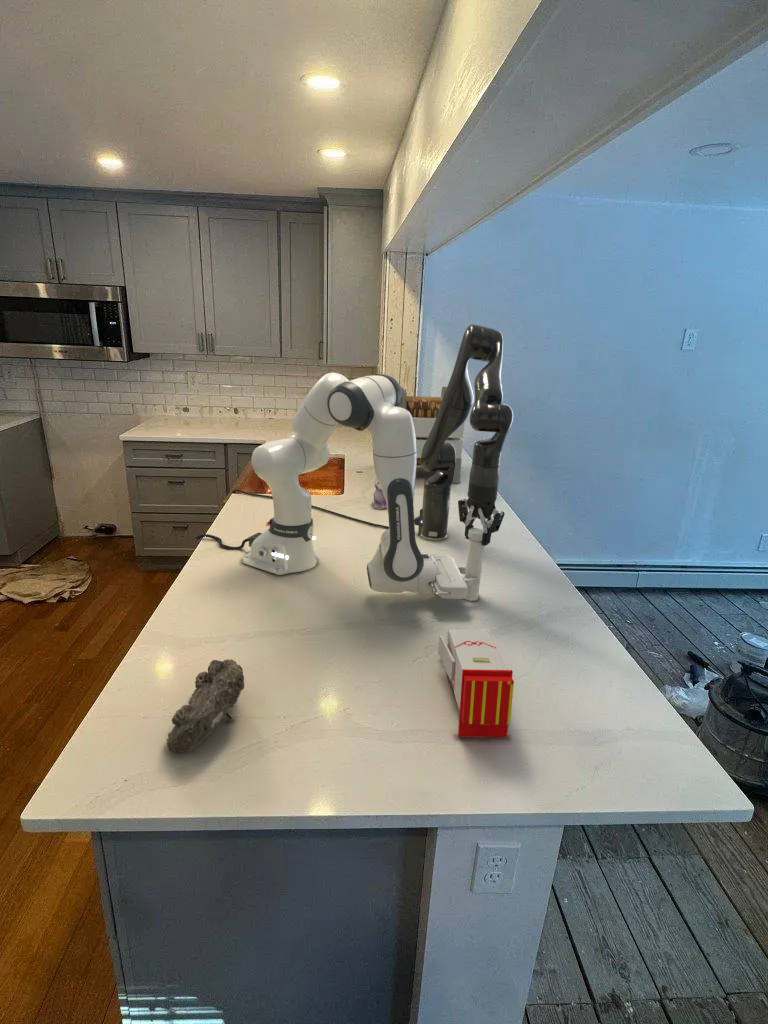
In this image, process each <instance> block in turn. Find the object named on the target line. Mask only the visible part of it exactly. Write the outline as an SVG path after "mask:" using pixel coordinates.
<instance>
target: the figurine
mask: <svg viewBox="0 0 768 1024" xmlns="http://www.w3.org/2000/svg"><path fill="white" fill-rule="evenodd" d="M373 484H374V488H375V490H374V492H373V502H372V506H373V508H374V509H378V510H384V509H387V504H386V501H385V498H384V495H383V492H382V490H381V487H380V485H379V482H378V479H377V478H376V479H375V481H374V483H373Z"/></svg>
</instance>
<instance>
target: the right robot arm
mask: <svg viewBox="0 0 768 1024" xmlns="http://www.w3.org/2000/svg"><path fill="white" fill-rule="evenodd" d="M503 353H504V337H503V334H502V332H501V331H500V330H499V329H495V328H492V327H487V326H483V325H479V324H472V323H471V324H469V325H468V326H467V327H466V329H465V331H464V333H463V335H462V338H461V342H460V344H459V348H458V352H457V355H456V359H455V362H454V366H453V369H452V373H451V375H450V378H449V380H448V384H447V386H446V387H447V389H446V391H445V394H444V396H443V399H442V402H441V405H440V408H439V411H438V414H437V417H436V420H435V422H434V425H433V427H432V430H431V432H430V434H429V436H428V438H427V440H426V442H425V444H424V446H423V449H422V452H421V465H422V466H421V467H422V469H423V470H424V471H426V472H434V474H433V475H431V476H429V477H428V478H427V479H425V480H424V482H423V493H422V496H423V497H422V506H421V508H420V509H419V516H416V517H414V526H418V530H417V535H418V536H420V538H421V539H424V540H426V541H432V542H440V541H444V540H446V539H447V538H448V525H449V517H450V516H449V514H450V504H451V494H452V493H451V491H452V486H453V484H454V483H453V479H454V472H455V465H456V451H455V448H454V446H453V445H452V444H451V443H444V442H445V441H446V439H447V438H448V437H449V436H450V435H451V434H452V433H453V432H454V431H456V430H457V429H458V428H459V427H460V426H461V425H462V424H463V423H464V424H465V422H466V421H467V419H468V417H469V425H470V427H471V428H472V429H473V430H474V431H477V432H483V433H484V432H485V433H494V434H493V436H492V437H490V438H486V439H480V440H477V441H476V442H475V443H474V445H473V451H472V460H471V467H470V471H469V478H468V488H467V497H468V498H463V499H460V500H459V499H458V500H457V507H458V517H459V518H458V519H459V522H460V523H462V524H464V526H465V527H464V537H465V539H466V540H467V541H469V537H468V531H469V529H470V528H475V527H474V525H473V524H474V523H475V521H476V519H479V520H480V524H481V525H482V529H483V530H484V532H483V537H482V545H483V546H484V547H486V546H488V545H490V543H491V538H492V534H494V533H496V532H499V530H500V528H501V525H502V523H503V520H504V517H505V512H504V511H503V510H502V511H500V510H498V509H497V508H496V501H497V497H498V491H499V481H500V472H501V471H500V467H501V458H502V451H503V447H504V445H505V441H506V438H507V436H508V434H509V431H510V429H511V427H512V425H513V422H514V411H513V409H512V408H511V406H510V405H508V404H505V403H503V400H504V393H503V385H502V366H503V355H504V354H503ZM470 360H475V361H479V362H483V363H484V362H485V363H486V365H485V366H483V367H482V369H480V370H479V372H477V374H476V376H475V379H474V383H473V384H474V391H473V387H472V384H471V381H470V376H469V371H468V370H469V369H468V365H469V364H468V363H469V361H470ZM235 492H239V493H242V494H244V495H249V496H255V497H256V496H257V497H262V498H269V499H273V496H272V495H266V494H258V493H253V492H246V491H244V490H241V489H234V490H232V491H231V493H232V494H233V493H235ZM311 508H312V509H316V510H320V511H323V512H327V513H330V514H333V515H336V516H339V517H342V518H345V519H349V520H352V521H356V522H358V523H359V522H360V523H363V524H367V525H370V526H374V527H377V528H384V529H386V530H387V529H389V525H388V526H387V525H383V524H378V523H373V522H370V521H365V520H364V519H363V520H362V519H359V518H355V517H352V516H350V515H345V514H342V513H339V512H335V511H332V510H329V509H326V508H323V507H319V506H316V505H313V504H311Z"/></svg>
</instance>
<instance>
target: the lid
mask: <svg viewBox="0 0 768 1024" xmlns="http://www.w3.org/2000/svg"><path fill="white" fill-rule="evenodd" d="M483 532H484V530H483V527H473V528H470V529H469V531H468V537H469V538H470V539H472V540H476V541H482V537H483Z"/></svg>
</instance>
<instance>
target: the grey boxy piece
mask: <svg viewBox="0 0 768 1024" xmlns="http://www.w3.org/2000/svg"><path fill="white" fill-rule="evenodd" d="M400 388H401V392H402V398H401V402H400V404H399V406H398V407H401V408H404V409H406V410H407V411H409V412H410V414H411V416H412V418H413V423H414V428H415V434H416V443H417V467H422V465H421V452H422V449H423V446H424V444H425V442H426V440H427V438H428V436H429V434H430V432H431V430H432V427H433V425H434V422H435V420H436V417H437V414H438V411H439V408H440V405H441V402H442V399H443V396H444V394H445V391H446V389H447V386H442V387H441V392H440V393H441V394H440V396H415V395H414V396H413V395H412V396H411V395H407V394H408V393H407V390H406V389H404V388H403V387H402V385H400ZM464 429H465V422H464V423H463V424H462V425H461V426H460V427H459V428H458V429H457V430H456V431H454V432H453V433H452V434H451V435H450V436H449V437H448V438H447V439H446V441H445V442H444V443H451V444H452V445H453V446H454V448H455V451H456V465H455V472H454V479H453V484H455V483H456V484H459V483H461V472H462V461H463V460H462V453H463V442H464V441H463V440H462V439H463V438H464V431H465V430H464Z"/></svg>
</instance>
